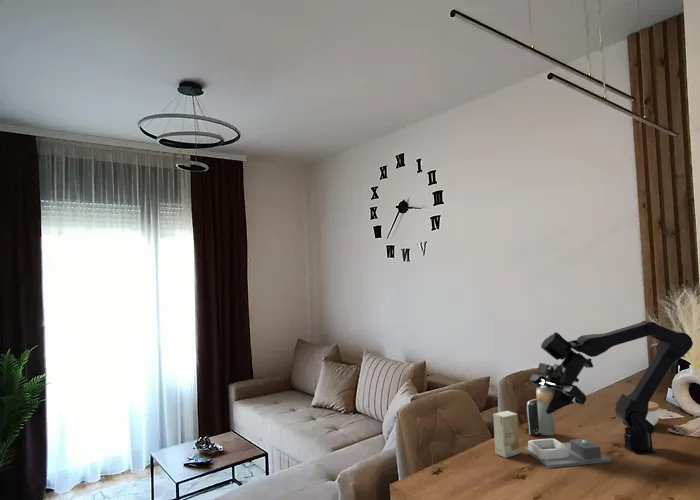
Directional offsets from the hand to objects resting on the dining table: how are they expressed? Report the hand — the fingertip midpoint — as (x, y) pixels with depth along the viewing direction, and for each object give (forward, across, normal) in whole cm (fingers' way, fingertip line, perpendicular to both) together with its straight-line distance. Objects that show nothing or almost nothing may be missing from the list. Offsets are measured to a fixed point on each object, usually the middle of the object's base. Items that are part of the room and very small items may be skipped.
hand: (541, 410), depth 139 cm
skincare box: (+16, -6, +4) cm, 17 cm away
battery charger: (+2, -16, +17) cm, 23 cm away
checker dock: (+5, +2, +14) cm, 15 cm away
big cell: (+4, 0, +6) cm, 7 cm away
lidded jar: (-23, -8, +43) cm, 49 cm away
